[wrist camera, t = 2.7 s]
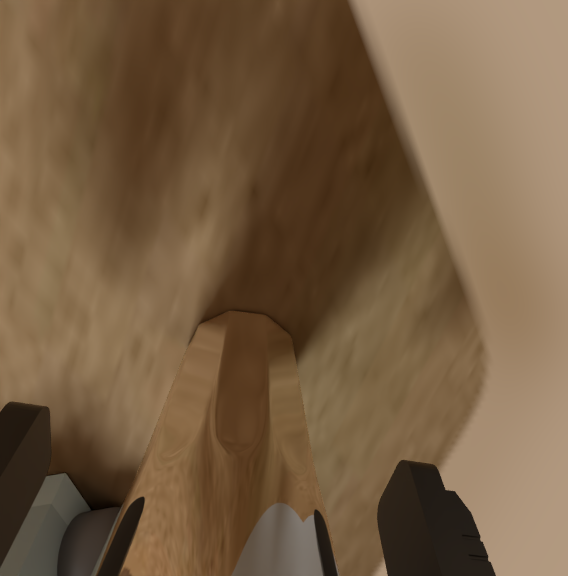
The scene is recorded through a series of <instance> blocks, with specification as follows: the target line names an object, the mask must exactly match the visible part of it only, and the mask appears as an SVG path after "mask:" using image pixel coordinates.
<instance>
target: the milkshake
mask: <svg viewBox="0 0 568 576" xmlns="http://www.w3.org/2000/svg"><path fill="white" fill-rule="evenodd" d="M90 576H340V573H339V569H338V564H337V560H336V555H335V550H334V546H333V541H332V537H331V532H330V528H329V523H328V519H327V515H326V511H325V507H324V503H323V499H322V496H321V492H320V488H319V484H318V480H317V476H316V471H315V466H314V461H313V456H312V451H311V445H310V439H309V434H308V428H307V422H306V416H305V411H304V405H303V399H302V393H301V387H300V381H299V376H298V370H297V365H296V359H295V353H294V348H293V342H292V337H291V335H290V334H289V333H287V332H286V331H285V330H284V329H282V328H281V327H280V326H279V325H277V324H276V323H275V322H274V321H273V320H271V319H270V318H269V317H268V316H267V315H263V314H255V313H247V312H239V311H232V310H230V311H228V312H226V313H223V314H221V315H219V316H217V317H215V318H212V319H210V320H208V321H206V322H203V323H201V324H199V326H198V328H197V330H196V332H195V334H194V336H193V338H192V340H191V342H190V344H189V346H188V348H187V349H186V351H185V354H184V356H183V359H182V361H181V364H180V366H179V369H178V371H177V374H176V376H175V379H174V381H173V384H172V386H171V389H170V391H169V394H168V396H167V399H166V401H165V404H164V406H163V409H162V412H161V414H160V417H159V419H158V422H157V424H156V427H155V429H154V432H153V434H152V437H151V439H150V442H149V444H148V447H147V449H146V452H145V454H144V457H143V459H142V462H141V464H140V467H139V469H138V472H137V474H136V476H135V479H134V481H133V484H132V486H131V488H130V490H129V492H128V494H127V495H126V497H125V499H124V501H123V503H122V506H121V508H120V510H119V512H118V514H117V517H116V519H115V521H114V523H113V525H112V528H111V530H110V532H109V535H108V537H107V539H106V541H105V544H104V546H103V548H102V550H101V553H100V555H99V557H98V559H97V562H96V564H95V566H94V568H93V571H92V573H91V575H90Z"/></svg>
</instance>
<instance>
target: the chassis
mask: <svg viewBox="0 0 568 576" xmlns="http://www.w3.org/2000/svg"><path fill="white" fill-rule="evenodd" d="M119 510H120V508H119V507H112V508H106V509H100V510H94V511H91V509H90V508H89V506H88V505H87V503H86V502H85V500H84V499H83V497H82V496H81V495H80V493H79V492H78V490H77V489H76V487H75V486H74V484H73V483H72V481H71V480H70V479H69V477H68V476H67V474H66V473H63V474H57V475H51V476H46V478H45V480H44V482H43V484H42V486H41V488H40V490H39V492H38V494H37V496H36V498H35V500H34V502H33V504H32V506H31V508H30V510H29V512H28V514H27V516H26V518H25V520H24V522H23V524H22V526H21V528H20V530H19V532H18V534H17V536H16V538H15V540H14V542H13V544H12V546H11V548H10V550H9V552H8V554H7V556H6V558H5V560H4V562H3V564H2V566H1V568H0V576H90V575H91V573H92V571H93V568H94V566H95V564H96V562H97V559H98V557H99V555H100V553H101V550H102V548H103V546H104V544H105V541H106V539H107V537H108V535H109V532H110V530H111V528H112V525H113V523H114V521H115V519H116V517H117V514H118V512H119Z"/></svg>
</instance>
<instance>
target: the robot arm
mask: <svg viewBox="0 0 568 576" xmlns="http://www.w3.org/2000/svg"><path fill="white" fill-rule="evenodd" d="M50 460H51V432H50V411H49V408H48V407H46V406H39V405H32V404H25V403H18V402H9V403H8V404H6V405H5V407H4V408H3V409H2V411H1V412H0V568H1V566H2V564H3V562H4V560H5V558H6V556H7V554H8V552H9V550H10V548H11V546H12V544H13V542H14V540H15V538H16V536H17V534H18V532H19V530H20V528H21V526H22V524H23V522H24V520H25V518H26V516H27V514H28V512H29V510H30V508H31V506H32V504H33V502H34V500H35V498H36V496H37V494H38V492H39V490H40V488H41V486H42V484H43V482H44V480H45V478H46V475H47V472H48V469H49V465H50ZM377 520H378V529H379V534H380V539H381V544H382V549H383V554H384V559H385V564H386V569H387V574H388V576H496V575H495V572H494V570H493V567H492V565H491V562H489V561H488V555H487V552H486V549H485V547H484V544H483V542H481V541H480V534H479V532H478V529H477V527H476V524H475V522H474V519H473V517H472V514H471V512H470V511H469V510H468V508H467V507H466V506H465V504H464V503H463V502H462V500H461V499H460V498H459V496H458V495H457V494H456V492H455V491H447V490H445V487H444V485H443V482H442V479H441V476H440V473H439V471H438V469H437V467H436V466H435V465H433V464H428V463H421V462H414V461H407V460H401V461H400V462H399V463H398V465H397V467H396V469H395V471H394V473H393V475H392V477H391V479H390V481H389V483H388V485H387V487H386V489H385V490H384V492H383V494H382V496H381V499H380V501H379V505H378V513H377Z"/></svg>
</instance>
